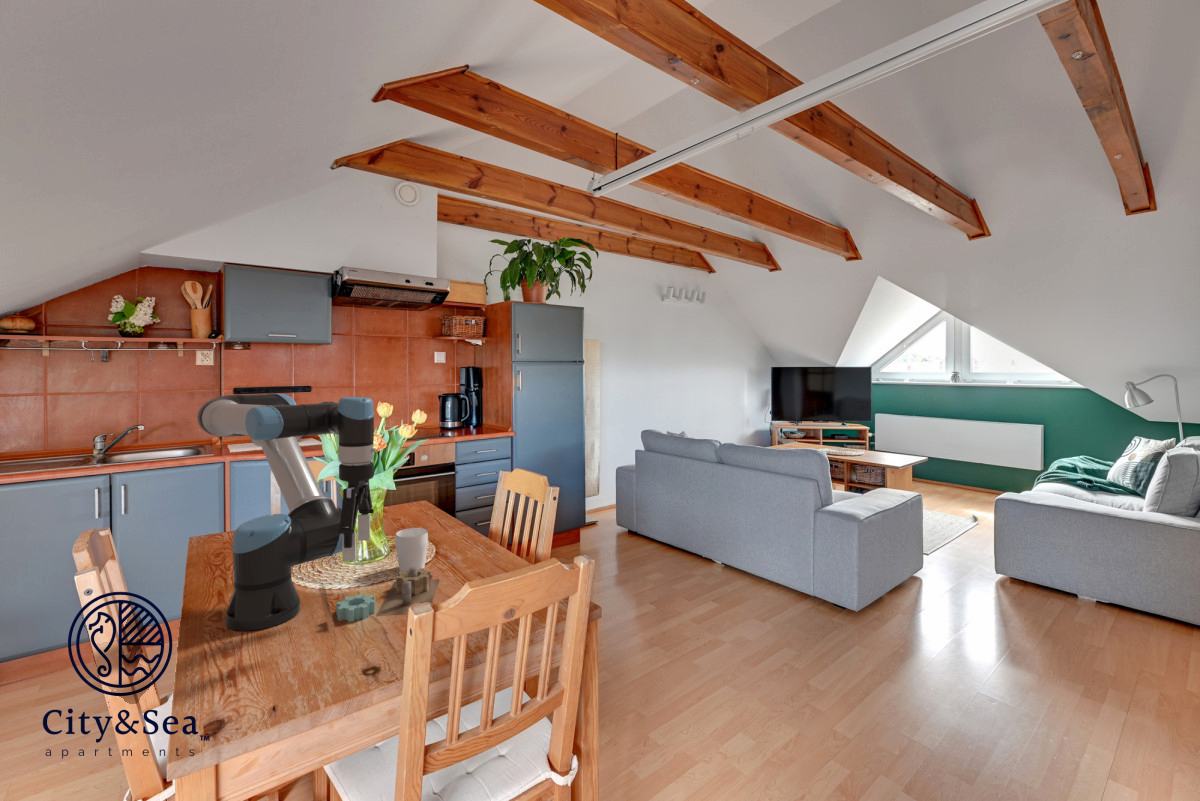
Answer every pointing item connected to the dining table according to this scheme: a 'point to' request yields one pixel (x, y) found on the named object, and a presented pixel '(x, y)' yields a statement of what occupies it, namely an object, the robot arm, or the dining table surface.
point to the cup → (411, 548)
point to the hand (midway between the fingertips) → (357, 549)
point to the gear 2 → (414, 581)
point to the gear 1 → (355, 608)
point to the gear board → (398, 600)
